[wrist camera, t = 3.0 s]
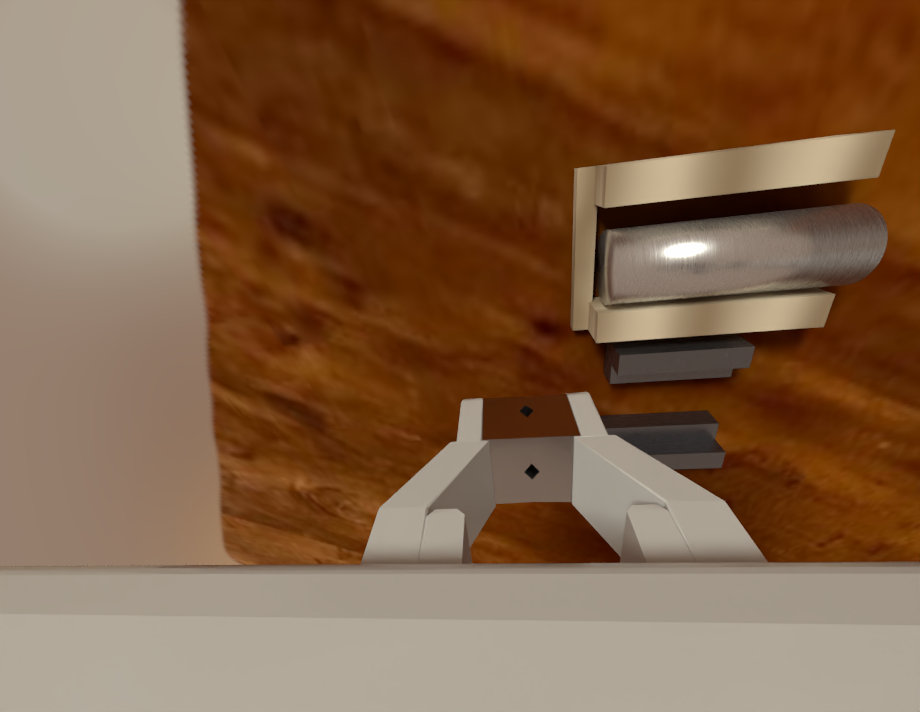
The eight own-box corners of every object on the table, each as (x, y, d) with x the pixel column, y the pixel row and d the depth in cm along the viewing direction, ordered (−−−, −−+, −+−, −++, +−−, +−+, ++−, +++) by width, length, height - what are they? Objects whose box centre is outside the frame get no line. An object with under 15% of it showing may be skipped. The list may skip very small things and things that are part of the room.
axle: (838, 191, 20) (907, 222, 17) (800, 262, 23) (852, 300, 20) (600, 217, 22) (621, 250, 19) (592, 281, 25) (609, 319, 22)
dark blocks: (726, 327, 25) (755, 346, 22) (700, 440, 29) (721, 467, 27) (606, 336, 26) (619, 355, 23) (598, 444, 30) (608, 471, 28)
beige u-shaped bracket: (840, 134, 20) (895, 129, 17) (786, 309, 24) (823, 326, 21) (574, 168, 21) (586, 168, 19) (570, 326, 26) (580, 344, 23)
